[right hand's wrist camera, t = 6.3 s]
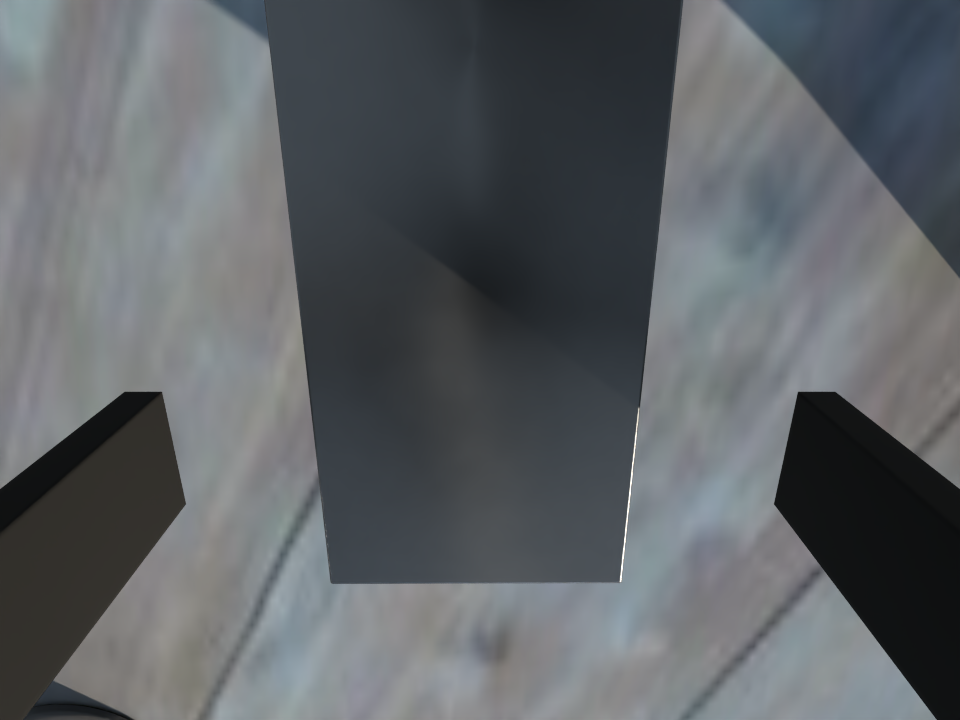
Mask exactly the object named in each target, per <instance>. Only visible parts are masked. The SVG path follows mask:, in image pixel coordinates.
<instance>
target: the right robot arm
mask: <svg viewBox="0 0 960 720" xmlns="http://www.w3.org/2000/svg"><path fill="white" fill-rule="evenodd" d="M185 505H186V502H185V498H184V493H183V488H182V483H181V479H180V474H179V469H178V465H177V460H176V455H175V451H174V446H173V441H172V437H171V432H170V427H169V423H168V418H167V413H166V409H165V404H164V399H163V395H162V392H124V393H123V394H121V395H120V396H119V397H118V398H116V399H115V400H114V401H112V402H111V403H110V404H109V405H107V406H106V407H105V408H103V409H102V410H101V411H100V412H98V413H97V414H96V415H95V416H93V417H92V418H91V419H89V420H88V421H87V422H86V423H84V424H83V425H82V426H80V427H79V428H78V429H77V430H75V431H74V432H73V433H71V434H70V435H69V436H68V437H66V438H65V439H64V440H63V441H61V442H60V443H59V444H57V445H56V446H55V447H54V448H52V449H51V450H50V451H48V452H47V453H46V454H45V455H43V456H42V457H41V458H39V459H38V460H37V461H36V462H34V463H33V464H32V465H31V466H29V467H28V468H27V469H25V470H24V471H23V472H22V473H20V474H19V475H18V476H16V477H15V478H14V479H13V480H11V481H10V482H9V483H7V484H6V485H5V486H4V487H2V488H1V489H0V720H127V719H125V718H123V717H120V716H118V715H115V714H112V713H109V712H106V711H103V710H99V709H95V708H90V707H85V706H77V705H45V706H38V707H33V706H34V705H35V703H36V702H37V701H38V699H39V698H40V697H41V695H42V694H43V693H44V691H45V690H46V689H47V687H48V686H49V685H50V684H51V682H52V681H53V680H54V678H55V677H56V676H57V674H58V673H59V672H60V670H61V669H62V668H63V666H64V665H65V664H66V662H67V661H68V660H69V658H70V657H71V656H72V654H73V653H74V652H75V650H76V649H77V648H78V646H79V645H80V644H81V642H82V641H83V640H84V638H85V637H86V636H87V634H88V633H89V632H90V631H91V629H92V628H93V627H94V625H95V624H96V623H97V621H98V620H99V619H100V617H101V616H102V615H103V613H104V612H105V611H106V609H107V608H108V607H109V605H110V604H111V603H112V601H113V600H114V599H115V597H116V596H117V595H118V593H119V592H120V591H121V589H122V588H123V587H124V585H125V584H126V583H127V581H128V580H129V579H130V578H131V576H132V575H133V574H134V572H135V571H136V570H137V568H138V567H139V566H140V564H141V563H142V562H143V560H144V559H145V558H146V556H147V555H148V554H149V552H150V551H151V550H152V548H153V547H154V546H155V544H156V543H157V542H158V540H159V539H160V538H161V536H162V535H163V534H164V532H165V531H166V530H167V528H168V527H169V526H170V525H171V523H172V522H173V521H174V519H175V518H176V517H177V515H178V514H179V513H180V511H181V510H182V509H183V507H184V506H185ZM774 505H775V506H776V507H777V509H778V510H779V511H780V513H781V514H782V515H783V517H784V518H785V519H786V521H787V522H788V523H789V525H790V526H791V527H792V528H793V530H794V531H795V532H796V534H797V535H798V536H799V538H800V539H801V540H802V542H803V543H804V544H805V546H806V547H807V548H808V550H809V551H810V552H811V554H812V555H813V556H814V558H815V559H816V560H817V562H818V563H819V564H820V566H821V567H822V568H823V570H824V571H825V572H826V574H827V575H828V576H829V578H830V579H831V580H832V581H833V583H834V584H835V585H836V587H837V588H838V589H839V591H840V592H841V593H842V595H843V596H844V597H845V599H846V600H847V601H848V603H849V604H850V605H851V607H852V608H853V609H854V611H855V612H856V613H857V615H858V616H859V617H860V619H861V620H862V621H863V623H864V624H865V625H866V627H867V628H868V629H869V631H870V632H871V633H872V634H873V636H874V637H875V638H876V640H877V641H878V642H879V644H880V645H881V646H882V648H883V649H884V650H885V652H886V653H887V654H888V656H889V657H890V658H891V660H892V661H893V662H894V664H895V665H896V666H897V668H898V669H899V670H900V672H901V673H902V674H903V676H904V677H905V678H906V680H907V681H908V682H909V684H910V685H911V686H912V687H913V689H914V690H915V691H916V693H917V694H918V695H919V697H920V698H921V699H922V701H923V702H924V703H925V705H926V706H927V707H928V709H929V710H930V711H931V713H932V714H933V715H934V717H935V718H936V719H937V720H960V489H959V488H958V487H956V486H955V485H954V484H953V483H951V482H950V481H949V480H947V479H946V478H945V477H944V476H942V475H941V474H940V473H938V472H937V471H936V470H935V469H933V468H932V467H931V466H929V465H928V464H927V463H926V462H924V461H923V460H922V459H921V458H919V457H918V456H917V455H915V454H914V453H913V452H912V451H910V450H909V449H908V448H906V447H905V446H904V445H903V444H901V443H900V442H899V441H897V440H896V439H895V438H894V437H892V436H891V435H890V434H889V433H887V432H886V431H885V430H883V429H882V428H881V427H880V426H878V425H877V424H876V423H874V422H873V421H872V420H871V419H869V418H868V417H867V416H865V415H864V414H863V413H862V412H860V411H859V410H858V409H857V408H855V407H854V406H853V405H851V404H850V403H849V402H848V401H846V400H845V399H844V398H842V397H841V396H840V395H839V394H837V393H836V392H798V395H797V399H796V404H795V409H794V413H793V418H792V423H791V427H790V432H789V437H788V441H787V446H786V451H785V455H784V460H783V465H782V469H781V474H780V479H779V483H778V488H777V493H776V497H775V502H774ZM32 707H33V708H32Z"/></svg>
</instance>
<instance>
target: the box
mask: <svg viewBox="0 0 960 720" xmlns="http://www.w3.org/2000/svg"><path fill="white" fill-rule="evenodd" d="M264 1H265V10H266V19H267V28H268V36H269V45H270V54H271V63H272V72H273V80H274V89H275V98H276V107H277V115H278V124H279V133H280V142H281V150H282V159H283V168H284V177H285V186H286V194H287V203H288V212H289V221H290V229H291V238H292V247H293V256H294V265H295V273H296V282H297V291H298V300H299V308H300V317H301V326H302V335H303V344H304V352H305V361H306V370H307V379H308V387H309V396H310V405H311V414H312V423H313V431H314V440H315V449H316V458H317V466H318V475H319V484H320V493H321V501H322V510H323V519H324V528H325V537H326V545H327V554H328V563H329V572H330V580H331V583H332V584H400V583H620V582H621V579H622V570H623V561H624V551H625V542H626V532H627V523H628V514H629V504H630V495H631V486H632V476H633V467H634V457H635V448H636V439H637V429H638V420H639V411H640V401H641V392H642V382H643V373H644V364H645V354H646V345H647V335H648V326H649V317H650V307H651V298H652V289H653V279H654V270H655V260H656V251H657V242H658V232H659V223H660V214H661V204H662V195H663V185H664V176H665V167H666V157H667V148H668V138H669V129H670V120H671V110H672V101H673V92H674V82H675V73H676V63H677V54H678V45H679V35H680V26H681V17H682V7H683V0H264Z"/></svg>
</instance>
